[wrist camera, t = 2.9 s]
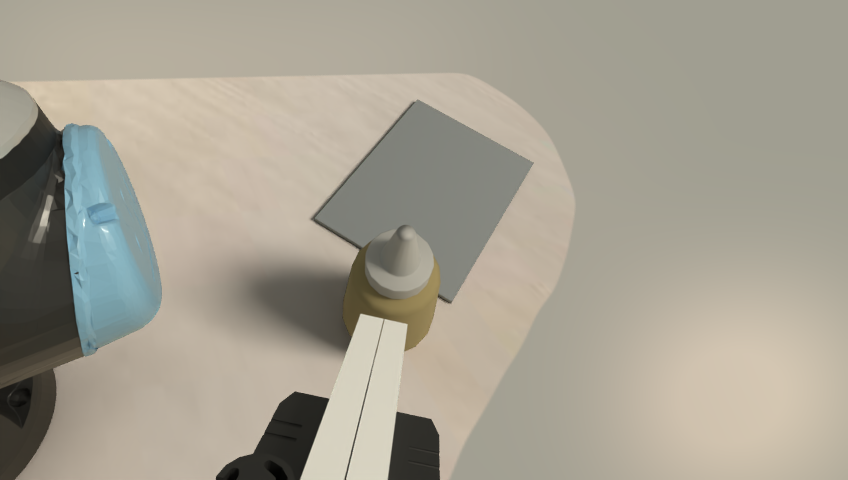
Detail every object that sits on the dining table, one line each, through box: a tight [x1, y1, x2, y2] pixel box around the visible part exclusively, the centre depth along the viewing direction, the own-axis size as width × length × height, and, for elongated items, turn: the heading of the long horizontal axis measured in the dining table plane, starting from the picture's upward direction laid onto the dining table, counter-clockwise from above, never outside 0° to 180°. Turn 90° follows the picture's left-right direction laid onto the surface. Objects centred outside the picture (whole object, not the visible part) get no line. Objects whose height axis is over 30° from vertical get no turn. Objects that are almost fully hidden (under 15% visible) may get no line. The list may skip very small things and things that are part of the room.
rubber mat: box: [315, 100, 533, 303], centre depth 49 cm, size 16×21×1 cm
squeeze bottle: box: [343, 225, 441, 353], centre depth 33 cm, size 8×8×18 cm
